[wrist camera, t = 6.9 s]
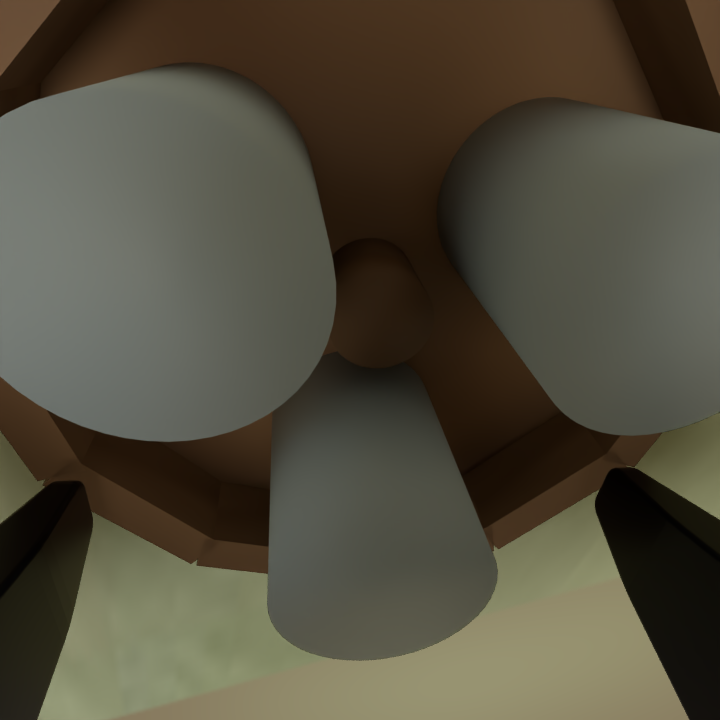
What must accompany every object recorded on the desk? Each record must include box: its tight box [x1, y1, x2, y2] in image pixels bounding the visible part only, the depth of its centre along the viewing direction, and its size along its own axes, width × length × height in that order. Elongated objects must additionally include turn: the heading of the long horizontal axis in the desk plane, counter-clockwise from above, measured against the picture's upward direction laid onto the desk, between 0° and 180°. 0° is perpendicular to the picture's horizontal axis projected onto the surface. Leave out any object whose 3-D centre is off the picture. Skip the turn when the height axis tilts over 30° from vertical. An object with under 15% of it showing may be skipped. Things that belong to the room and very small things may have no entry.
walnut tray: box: [0, 0, 720, 574], centre depth 9 cm, size 12×12×2 cm
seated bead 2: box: [437, 97, 720, 436], centre depth 7 cm, size 3×3×4 cm
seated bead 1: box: [0, 62, 336, 442], centre depth 6 cm, size 3×3×4 cm
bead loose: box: [267, 351, 498, 661], centre depth 9 cm, size 3×3×4 cm
